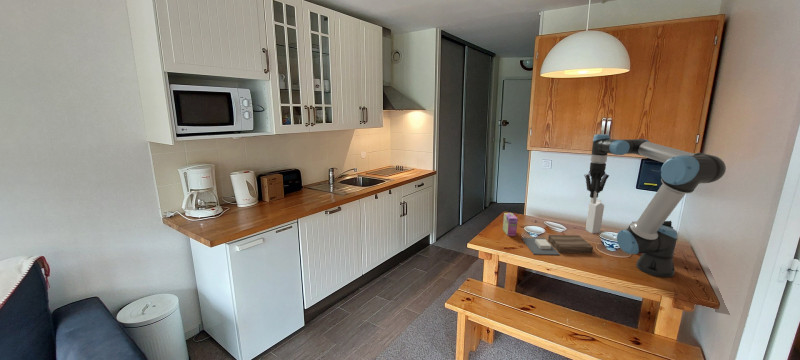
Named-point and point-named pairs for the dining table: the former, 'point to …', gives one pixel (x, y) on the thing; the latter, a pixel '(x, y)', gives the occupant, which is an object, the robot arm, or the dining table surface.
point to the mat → (535, 249)
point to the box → (510, 224)
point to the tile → (542, 244)
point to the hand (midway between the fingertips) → (593, 203)
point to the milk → (595, 217)
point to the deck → (570, 244)
